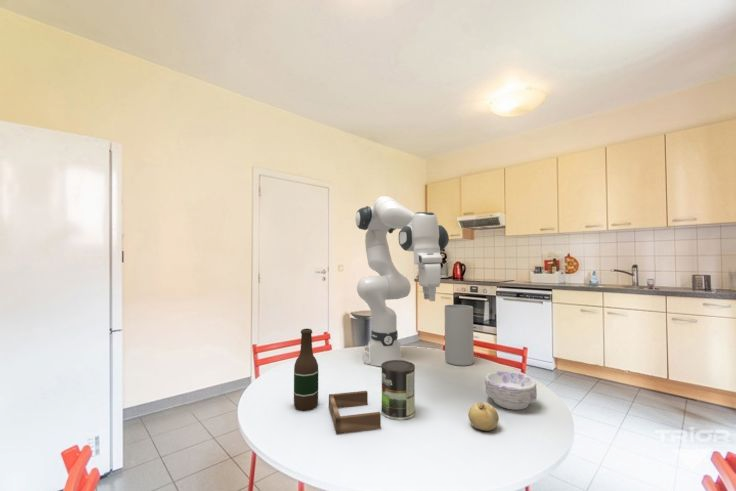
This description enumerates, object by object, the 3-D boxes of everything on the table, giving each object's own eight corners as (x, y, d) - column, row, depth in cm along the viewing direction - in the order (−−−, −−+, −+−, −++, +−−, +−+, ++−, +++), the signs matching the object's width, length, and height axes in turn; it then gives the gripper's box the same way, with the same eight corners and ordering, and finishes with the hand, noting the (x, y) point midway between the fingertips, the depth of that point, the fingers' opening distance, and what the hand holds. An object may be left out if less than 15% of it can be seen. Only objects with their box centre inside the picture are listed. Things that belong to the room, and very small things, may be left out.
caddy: (328, 407, 102) (328, 394, 103) (366, 403, 105) (366, 390, 106) (336, 434, 87) (336, 418, 87) (380, 428, 89) (380, 413, 90)
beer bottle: (309, 398, 109) (309, 325, 110) (323, 405, 103) (323, 329, 105) (288, 405, 104) (289, 329, 105) (302, 414, 98) (302, 333, 99)
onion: (465, 420, 95) (464, 395, 95) (492, 420, 94) (492, 395, 95) (473, 434, 87) (472, 407, 87) (503, 435, 86) (502, 407, 87)
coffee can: (390, 423, 92) (390, 372, 93) (375, 408, 102) (375, 362, 103) (422, 416, 97) (421, 367, 97) (404, 402, 106) (404, 358, 107)
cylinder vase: (441, 358, 154) (440, 304, 155) (466, 357, 155) (466, 304, 156) (450, 366, 141) (450, 308, 143) (478, 365, 143) (477, 308, 144)
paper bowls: (485, 410, 101) (484, 383, 101) (485, 391, 115) (485, 368, 115) (540, 418, 95) (539, 390, 96) (533, 397, 110) (533, 373, 110)
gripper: (413, 260, 121) (415, 298, 119) (422, 257, 100) (425, 302, 99) (430, 260, 121) (432, 298, 119) (443, 256, 100) (446, 302, 99)
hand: (429, 300), depth 109 cm, fingers open, 8 cm apart
